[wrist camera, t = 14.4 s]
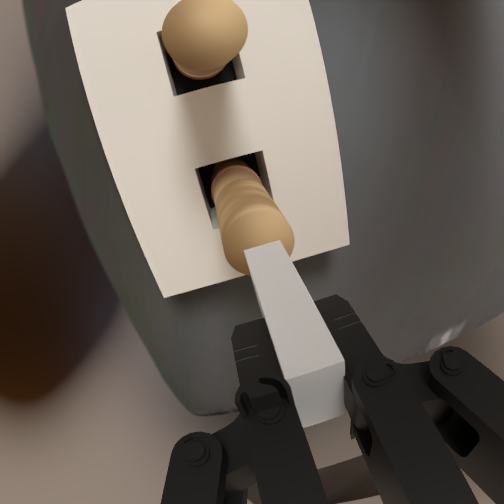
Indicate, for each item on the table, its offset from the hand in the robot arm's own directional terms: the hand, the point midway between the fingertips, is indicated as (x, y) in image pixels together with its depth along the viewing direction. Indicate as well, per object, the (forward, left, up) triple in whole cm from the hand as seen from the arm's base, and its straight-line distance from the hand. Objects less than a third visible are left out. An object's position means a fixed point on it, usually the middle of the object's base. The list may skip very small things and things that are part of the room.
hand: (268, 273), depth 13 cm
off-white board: (0, -5, -15) cm, 16 cm away
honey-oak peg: (0, 0, -15) cm, 15 cm away
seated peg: (0, -10, -15) cm, 18 cm away
